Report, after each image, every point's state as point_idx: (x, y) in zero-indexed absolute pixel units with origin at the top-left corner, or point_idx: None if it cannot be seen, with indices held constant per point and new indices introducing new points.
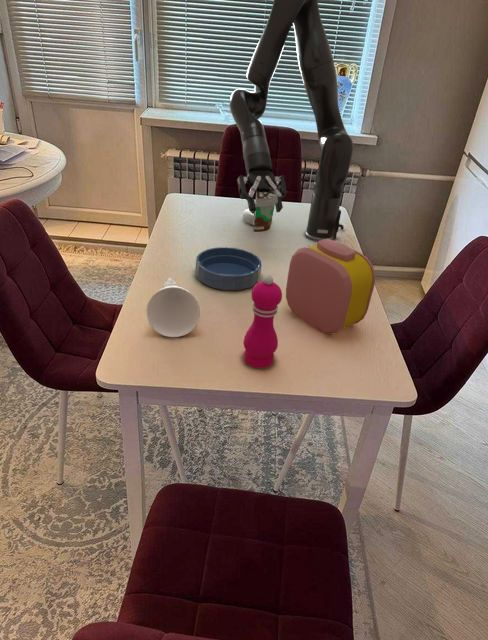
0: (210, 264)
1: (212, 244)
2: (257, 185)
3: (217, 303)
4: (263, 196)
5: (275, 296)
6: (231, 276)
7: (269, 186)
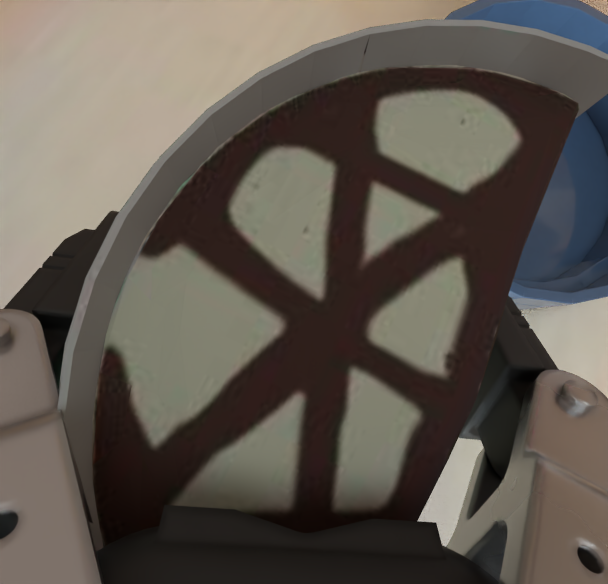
0: (547, 280)
1: (461, 508)
2: (537, 568)
3: (603, 7)
4: (396, 274)
5: None
6: (589, 6)
7: (124, 565)
